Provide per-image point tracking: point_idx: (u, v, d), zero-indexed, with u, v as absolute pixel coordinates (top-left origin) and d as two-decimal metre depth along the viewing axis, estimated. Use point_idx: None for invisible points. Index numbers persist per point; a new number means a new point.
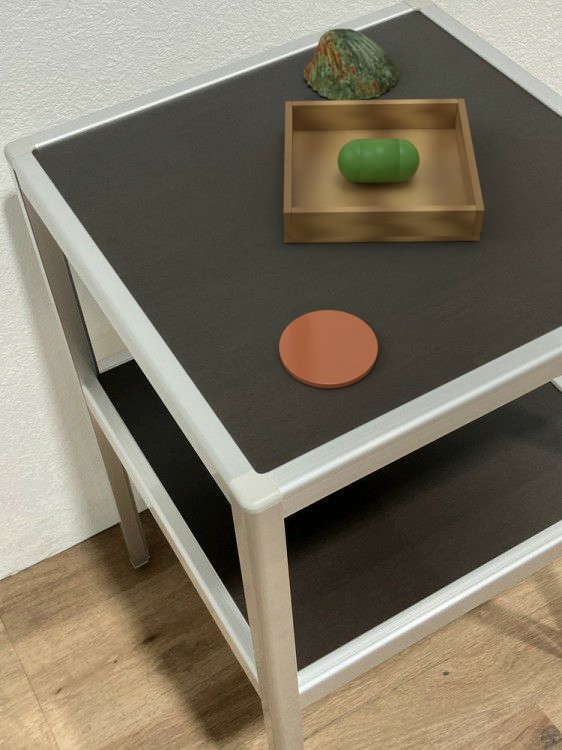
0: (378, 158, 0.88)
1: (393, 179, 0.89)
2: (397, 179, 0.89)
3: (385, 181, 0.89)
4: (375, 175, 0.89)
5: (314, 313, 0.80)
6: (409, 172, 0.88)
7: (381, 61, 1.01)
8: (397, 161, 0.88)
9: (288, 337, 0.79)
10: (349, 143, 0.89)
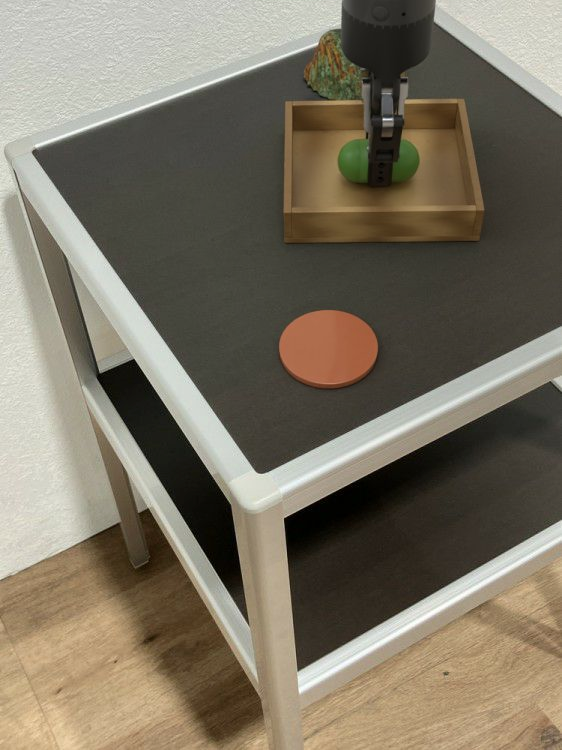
0: None
1: (393, 179, 0.89)
2: (397, 179, 0.89)
3: None
4: None
5: (314, 313, 0.80)
6: (409, 172, 0.88)
7: None
8: None
9: (288, 337, 0.79)
10: (349, 143, 0.89)
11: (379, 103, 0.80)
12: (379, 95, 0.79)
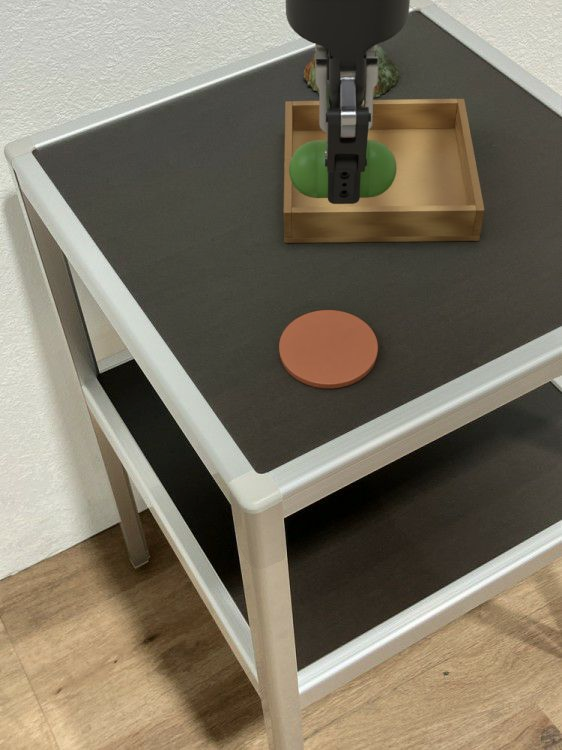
0: None
1: (362, 193, 0.68)
2: (367, 193, 0.68)
3: None
4: None
5: (314, 313, 0.80)
6: (382, 184, 0.67)
7: (381, 61, 1.01)
8: (366, 170, 0.66)
9: (288, 337, 0.79)
10: (304, 146, 0.67)
11: (337, 92, 0.59)
12: (337, 80, 0.58)
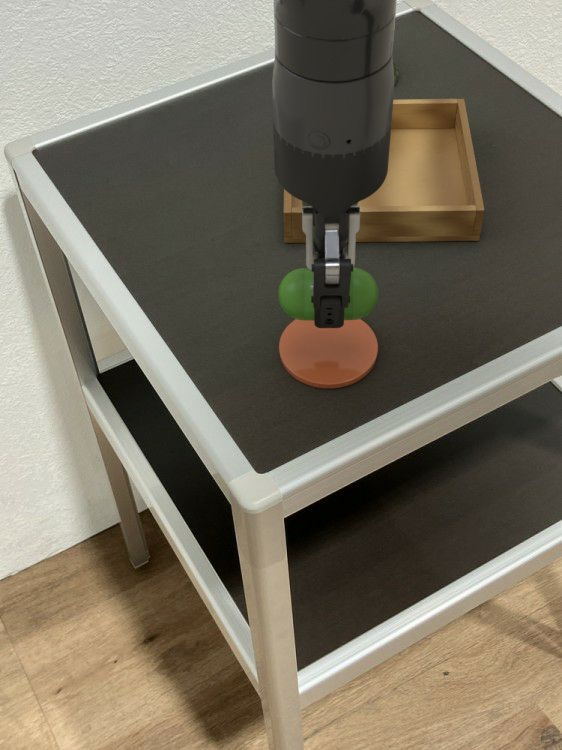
0: None
1: (346, 317, 0.73)
2: (350, 318, 0.73)
3: None
4: None
5: None
6: (365, 310, 0.72)
7: None
8: None
9: (288, 337, 0.79)
10: (292, 274, 0.72)
11: (322, 242, 0.64)
12: (322, 233, 0.63)
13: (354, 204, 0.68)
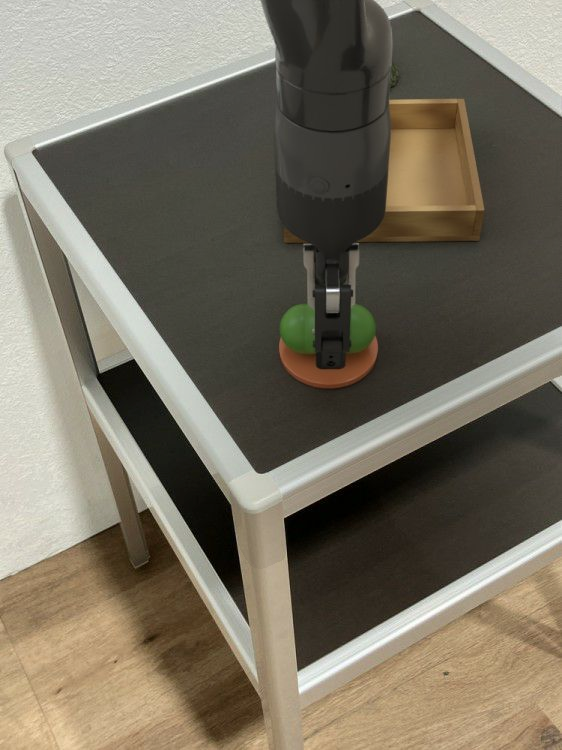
0: None
1: None
2: (349, 351, 0.76)
3: None
4: None
5: None
6: (363, 344, 0.75)
7: None
8: None
9: None
10: (293, 309, 0.76)
11: (323, 278, 0.66)
12: (322, 271, 0.66)
13: None
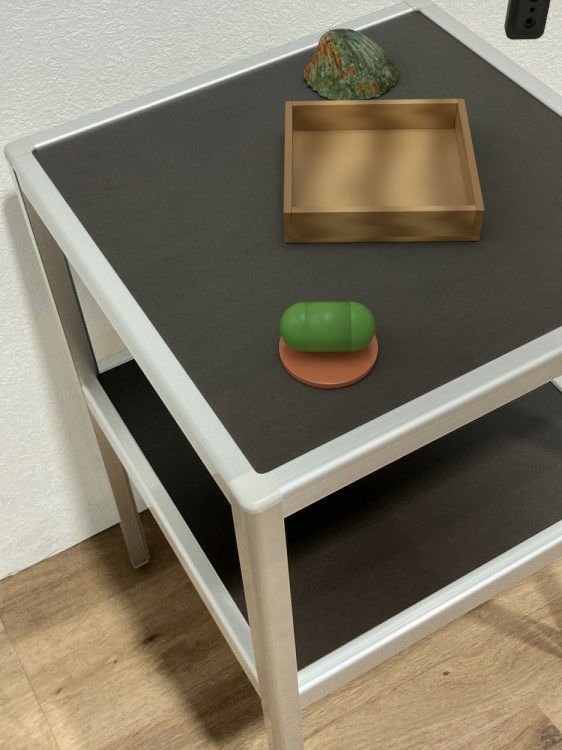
0: (326, 325, 0.75)
1: (345, 348, 0.76)
2: (349, 348, 0.76)
3: (335, 350, 0.76)
4: (323, 344, 0.75)
5: None
6: (363, 340, 0.75)
7: (381, 61, 1.01)
8: (348, 329, 0.75)
9: None
10: (293, 307, 0.76)
11: None
12: None
13: None
